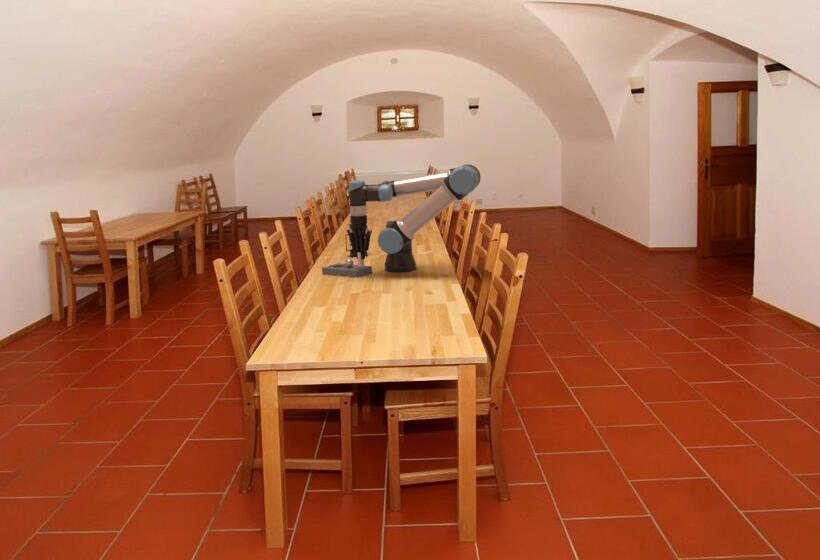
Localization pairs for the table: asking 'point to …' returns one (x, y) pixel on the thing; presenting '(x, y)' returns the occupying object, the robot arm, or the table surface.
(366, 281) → the table surface
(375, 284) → the table surface
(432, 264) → the table surface
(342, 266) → the plate
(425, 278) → the table surface
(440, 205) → the robot arm
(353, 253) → the french press
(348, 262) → the ball
